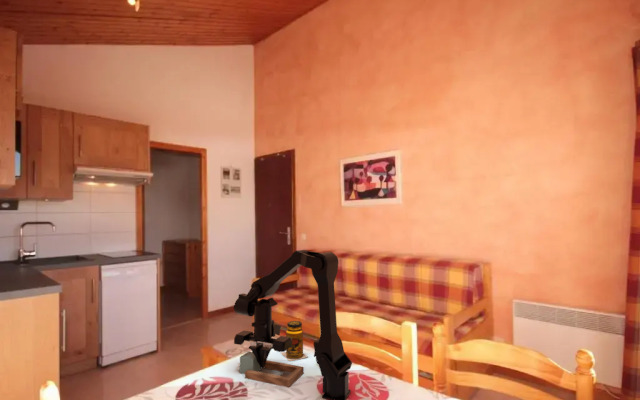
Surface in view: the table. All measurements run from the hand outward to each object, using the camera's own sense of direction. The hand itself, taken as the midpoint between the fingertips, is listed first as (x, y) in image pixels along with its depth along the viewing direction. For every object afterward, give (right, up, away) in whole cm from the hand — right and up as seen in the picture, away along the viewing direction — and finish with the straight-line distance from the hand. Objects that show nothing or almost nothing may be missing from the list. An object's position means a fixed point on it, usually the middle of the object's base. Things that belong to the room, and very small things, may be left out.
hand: (262, 367), depth 113 cm
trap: (+8, -2, -3) cm, 9 cm away
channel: (+4, -2, -2) cm, 4 cm away
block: (-4, -2, +2) cm, 5 cm away
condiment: (+9, -3, +14) cm, 17 cm away
